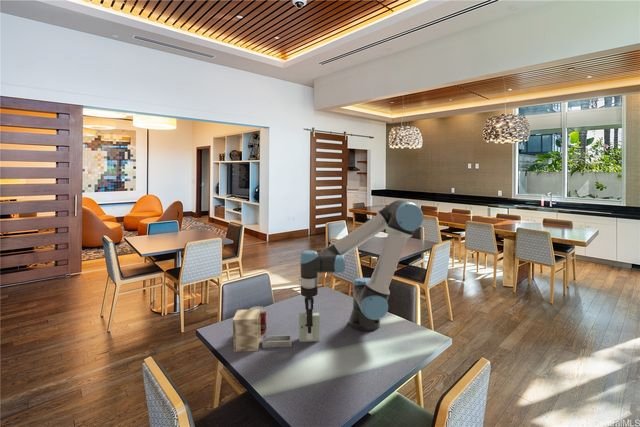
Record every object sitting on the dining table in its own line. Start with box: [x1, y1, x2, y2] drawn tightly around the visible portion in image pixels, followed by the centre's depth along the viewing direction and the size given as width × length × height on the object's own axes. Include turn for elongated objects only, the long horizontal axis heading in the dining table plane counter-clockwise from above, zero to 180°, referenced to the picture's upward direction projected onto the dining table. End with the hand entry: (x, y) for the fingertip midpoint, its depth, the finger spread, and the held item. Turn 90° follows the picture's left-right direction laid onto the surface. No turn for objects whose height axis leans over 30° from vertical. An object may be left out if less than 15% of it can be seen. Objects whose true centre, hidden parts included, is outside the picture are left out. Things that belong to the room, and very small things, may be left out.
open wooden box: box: [232, 308, 262, 352], centre depth 142 cm, size 10×10×14 cm
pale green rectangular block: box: [298, 312, 320, 343], centre depth 146 cm, size 9×4×12 cm, turn 94°
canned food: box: [248, 305, 267, 336], centre depth 154 cm, size 8×8×11 cm
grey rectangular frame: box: [261, 334, 293, 349], centre depth 143 cm, size 13×6×3 cm, turn 94°
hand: (309, 335), depth 147 cm, fingers open, 6 cm apart
